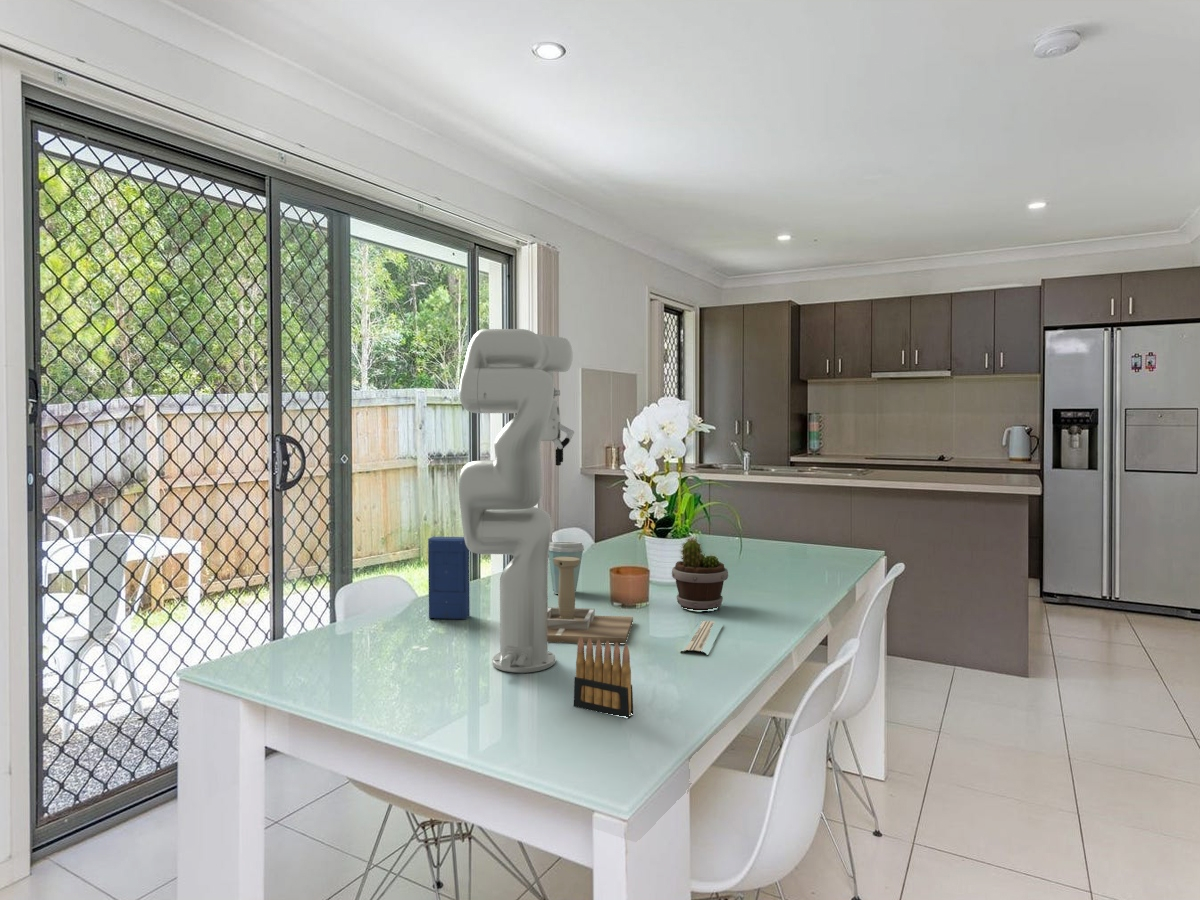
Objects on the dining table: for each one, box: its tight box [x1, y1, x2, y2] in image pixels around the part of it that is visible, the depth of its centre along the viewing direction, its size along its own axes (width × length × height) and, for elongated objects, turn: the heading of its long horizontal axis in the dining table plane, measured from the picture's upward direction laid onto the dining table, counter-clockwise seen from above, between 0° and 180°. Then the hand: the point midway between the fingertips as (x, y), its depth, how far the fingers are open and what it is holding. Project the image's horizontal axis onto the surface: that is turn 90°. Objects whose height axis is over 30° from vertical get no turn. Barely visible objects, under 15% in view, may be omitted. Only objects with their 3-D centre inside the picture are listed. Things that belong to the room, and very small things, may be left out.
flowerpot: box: [671, 534, 729, 610], centre depth 191 cm, size 14×15×20 cm
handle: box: [553, 557, 580, 620], centre depth 171 cm, size 5×6×15 cm
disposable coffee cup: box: [548, 540, 585, 595], centre depth 208 cm, size 11×11×15 cm
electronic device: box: [427, 536, 471, 620], centre depth 182 cm, size 10×5×20 cm, turn 84°
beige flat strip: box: [684, 620, 715, 653], centre depth 164 cm, size 24×7×2 cm, turn 163°
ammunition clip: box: [573, 636, 634, 717], centre depth 122 cm, size 11×2×12 cm, turn 59°
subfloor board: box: [548, 606, 634, 644], centre depth 169 cm, size 18×22×4 cm
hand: (539, 465), depth 178 cm, fingers open, 9 cm apart
